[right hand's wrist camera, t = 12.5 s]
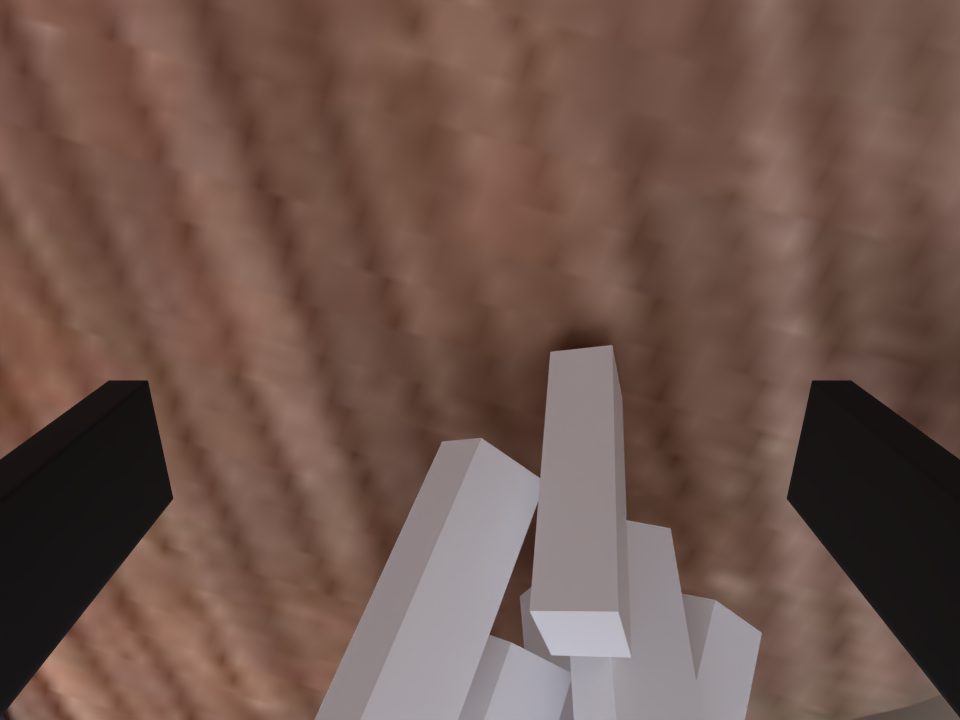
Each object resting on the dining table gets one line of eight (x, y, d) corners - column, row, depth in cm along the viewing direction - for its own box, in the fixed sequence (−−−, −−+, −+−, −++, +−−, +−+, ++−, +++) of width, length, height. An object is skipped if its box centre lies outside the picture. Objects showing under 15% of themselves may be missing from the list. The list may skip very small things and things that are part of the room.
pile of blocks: (327, 333, 48) (-79, 901, 25) (743, 302, 36) (730, 1428, 12) (473, 573, 69) (328, 1008, 45) (770, 608, 56) (784, 1242, 32)
